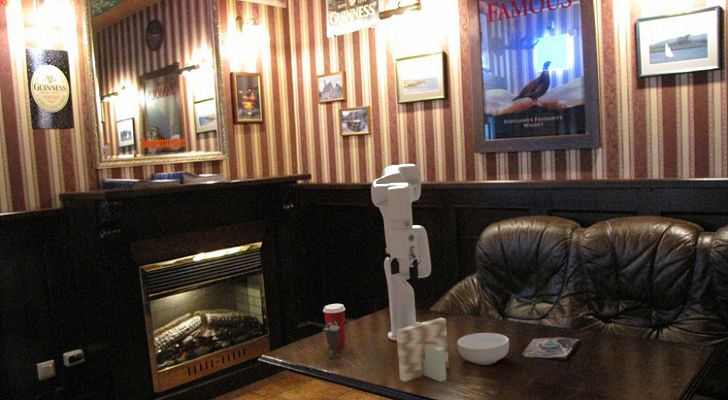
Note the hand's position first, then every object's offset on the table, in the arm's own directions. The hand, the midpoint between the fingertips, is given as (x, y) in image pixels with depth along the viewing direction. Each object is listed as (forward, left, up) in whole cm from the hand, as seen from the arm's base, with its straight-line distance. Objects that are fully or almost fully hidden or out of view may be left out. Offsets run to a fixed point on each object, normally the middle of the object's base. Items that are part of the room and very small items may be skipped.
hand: (404, 276), depth 214 cm
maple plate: (+1, +8, -30) cm, 31 cm away
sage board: (+1, +8, -30) cm, 31 cm away
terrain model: (-44, +21, -31) cm, 58 cm away
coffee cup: (+6, -38, -31) cm, 49 cm away
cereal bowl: (-20, +13, -31) cm, 39 cm away
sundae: (+13, -28, -31) cm, 43 cm away
